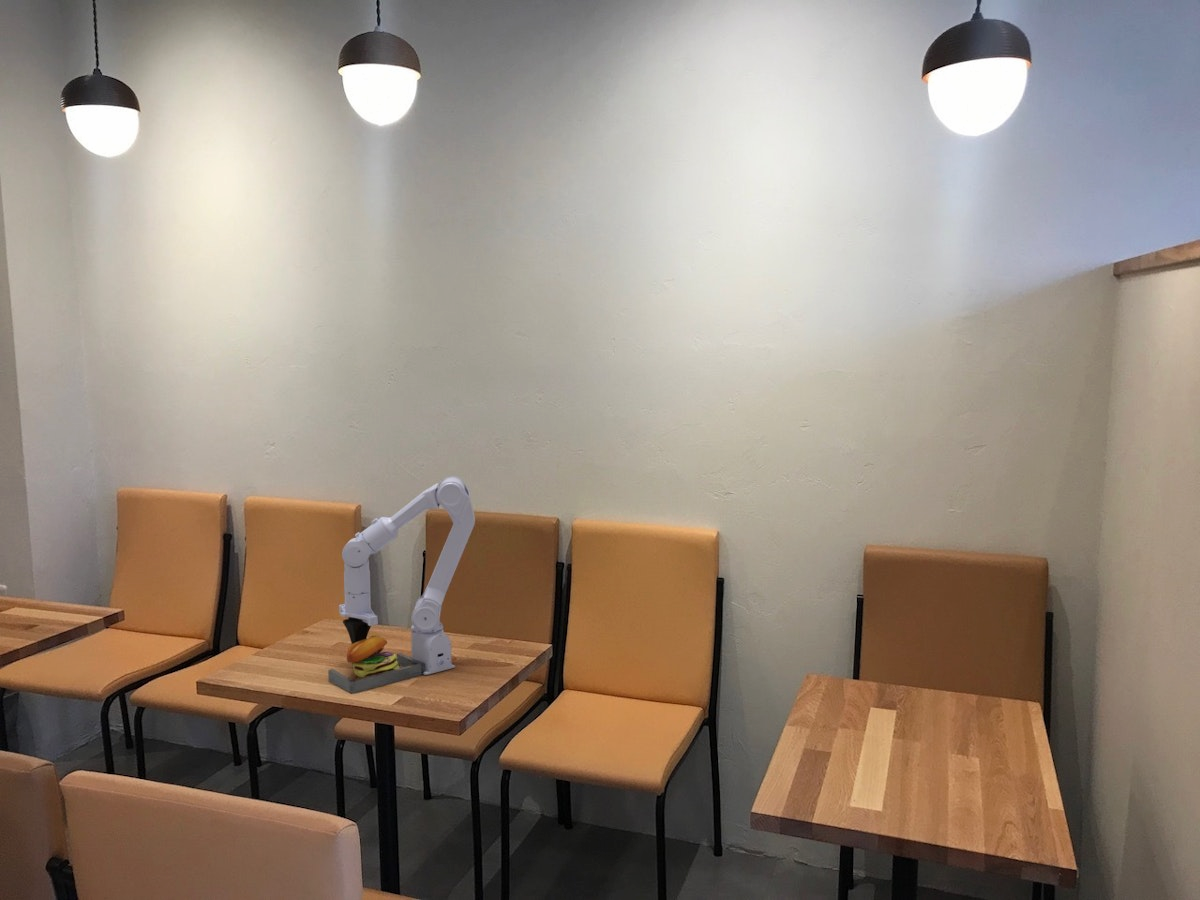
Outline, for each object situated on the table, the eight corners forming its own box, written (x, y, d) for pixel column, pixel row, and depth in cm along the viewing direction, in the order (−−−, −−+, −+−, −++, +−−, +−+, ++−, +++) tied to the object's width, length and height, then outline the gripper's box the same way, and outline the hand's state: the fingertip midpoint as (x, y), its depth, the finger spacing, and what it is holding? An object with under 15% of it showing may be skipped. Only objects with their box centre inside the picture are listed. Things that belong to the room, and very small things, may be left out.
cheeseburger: (394, 683, 203) (382, 640, 202) (347, 693, 204) (335, 650, 203) (406, 667, 213) (395, 626, 212) (362, 677, 214) (351, 636, 213)
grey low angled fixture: (425, 674, 210) (424, 663, 209) (351, 693, 198) (351, 682, 197) (400, 663, 217) (400, 652, 217) (328, 681, 205) (328, 669, 205)
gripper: (326, 588, 214) (327, 646, 216) (356, 600, 204) (358, 661, 205) (354, 583, 219) (355, 640, 221) (385, 595, 209) (386, 654, 210)
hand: (358, 649), depth 213 cm, fingers closed
